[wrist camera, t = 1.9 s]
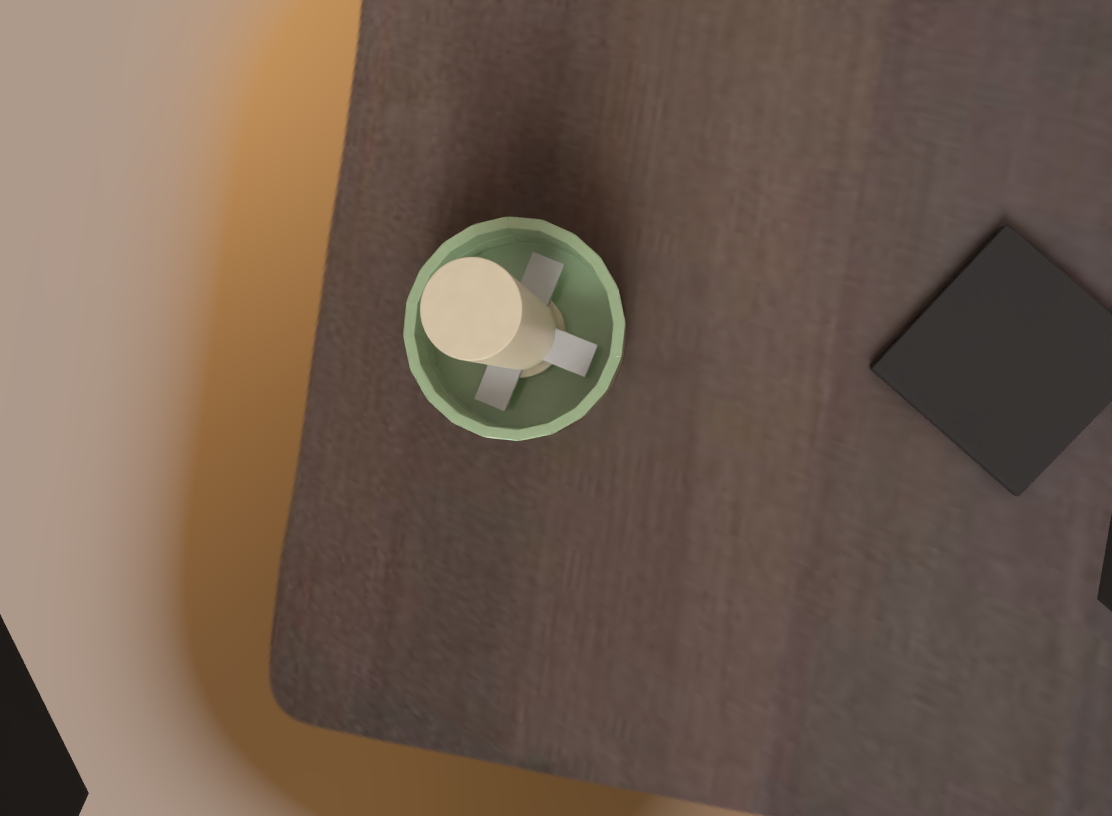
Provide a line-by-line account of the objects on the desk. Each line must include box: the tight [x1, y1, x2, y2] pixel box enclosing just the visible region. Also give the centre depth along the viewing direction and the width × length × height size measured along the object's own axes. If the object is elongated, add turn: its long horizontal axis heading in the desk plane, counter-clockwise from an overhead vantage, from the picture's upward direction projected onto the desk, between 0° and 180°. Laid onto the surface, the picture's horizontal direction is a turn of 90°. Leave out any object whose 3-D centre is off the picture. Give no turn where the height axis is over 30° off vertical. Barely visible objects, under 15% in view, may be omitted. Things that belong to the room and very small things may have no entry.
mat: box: [870, 225, 1112, 496], centre depth 45 cm, size 10×10×1 cm
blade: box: [420, 252, 598, 412], centre depth 40 cm, size 8×8×14 cm
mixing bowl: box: [403, 216, 627, 441], centre depth 46 cm, size 11×11×4 cm
